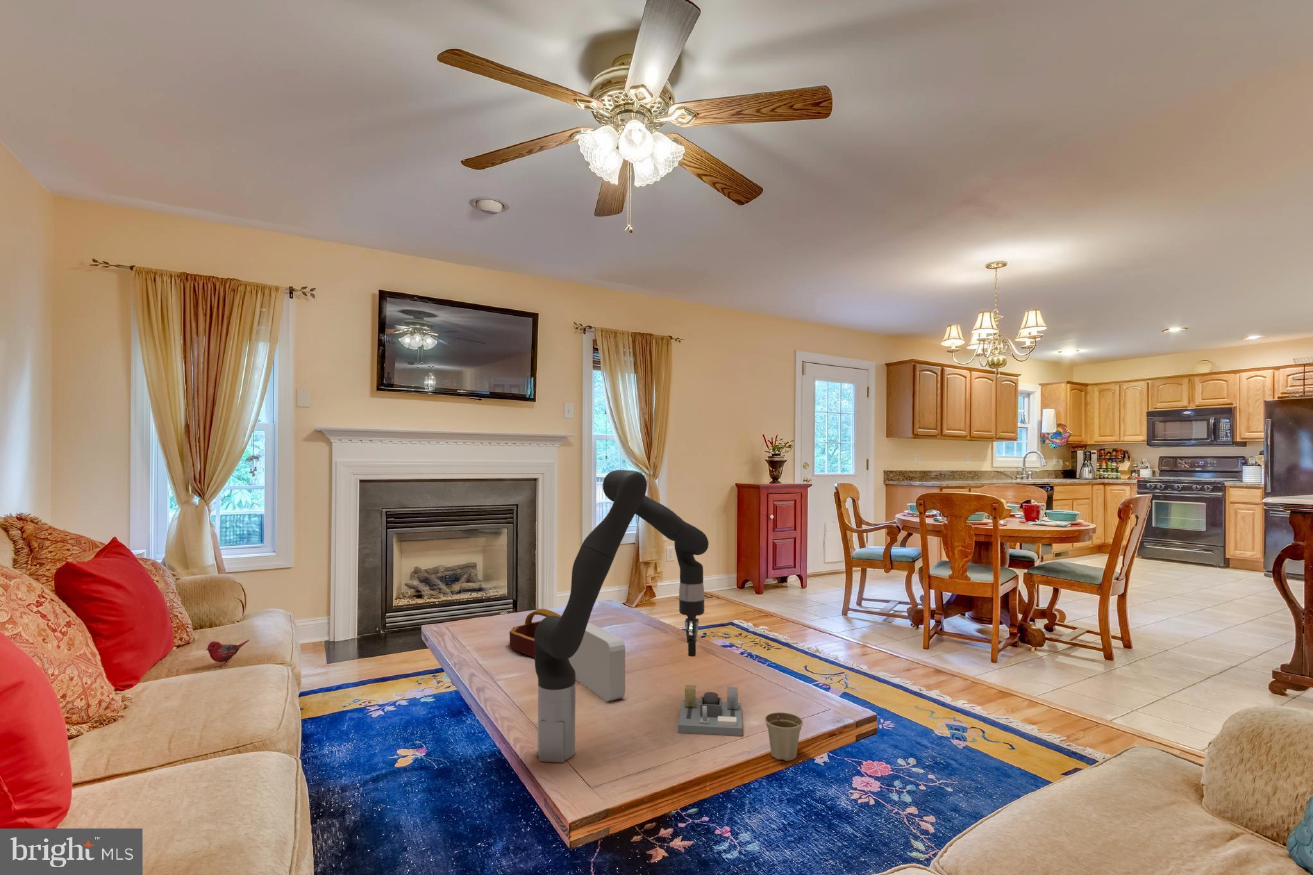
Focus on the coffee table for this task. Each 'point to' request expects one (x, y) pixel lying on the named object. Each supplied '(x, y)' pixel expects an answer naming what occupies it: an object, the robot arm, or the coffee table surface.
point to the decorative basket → (527, 633)
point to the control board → (710, 719)
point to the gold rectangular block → (690, 696)
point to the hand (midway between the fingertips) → (692, 655)
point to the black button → (711, 698)
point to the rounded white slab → (601, 663)
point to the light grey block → (732, 697)
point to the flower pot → (783, 734)
